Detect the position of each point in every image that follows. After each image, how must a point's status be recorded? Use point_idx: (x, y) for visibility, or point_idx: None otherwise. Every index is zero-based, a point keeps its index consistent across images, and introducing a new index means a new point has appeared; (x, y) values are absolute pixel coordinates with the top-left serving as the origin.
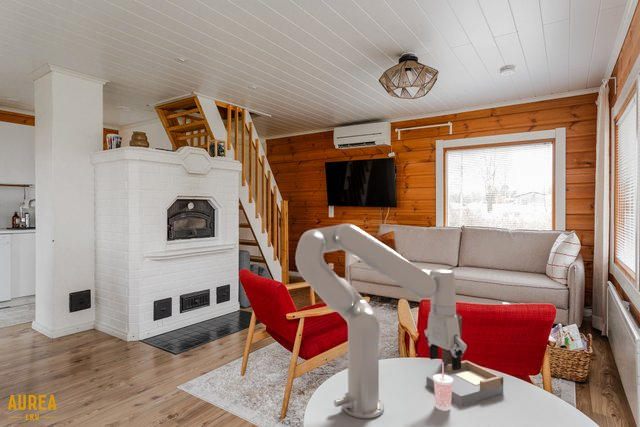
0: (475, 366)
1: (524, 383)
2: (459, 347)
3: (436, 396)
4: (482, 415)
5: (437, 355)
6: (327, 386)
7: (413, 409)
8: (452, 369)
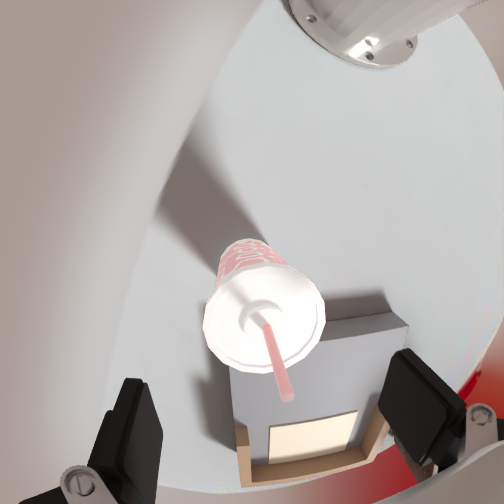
0: (334, 467)
1: (254, 490)
2: (412, 468)
3: (255, 248)
4: (150, 346)
5: (387, 411)
6: (474, 41)
7: (283, 143)
8: (135, 379)
